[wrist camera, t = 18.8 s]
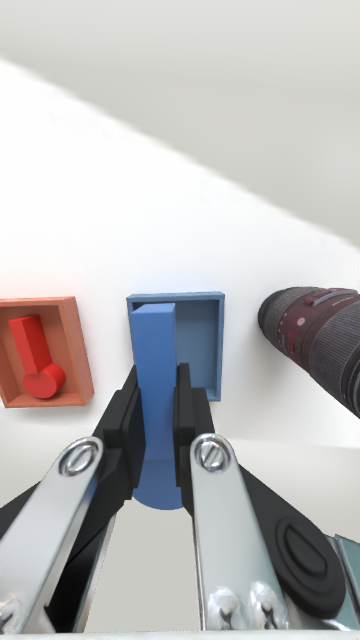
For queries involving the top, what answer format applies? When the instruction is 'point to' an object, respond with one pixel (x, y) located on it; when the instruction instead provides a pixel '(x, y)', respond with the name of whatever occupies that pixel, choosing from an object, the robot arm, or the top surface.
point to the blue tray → (193, 334)
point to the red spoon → (36, 357)
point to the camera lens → (318, 336)
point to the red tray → (64, 346)
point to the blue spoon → (157, 402)
